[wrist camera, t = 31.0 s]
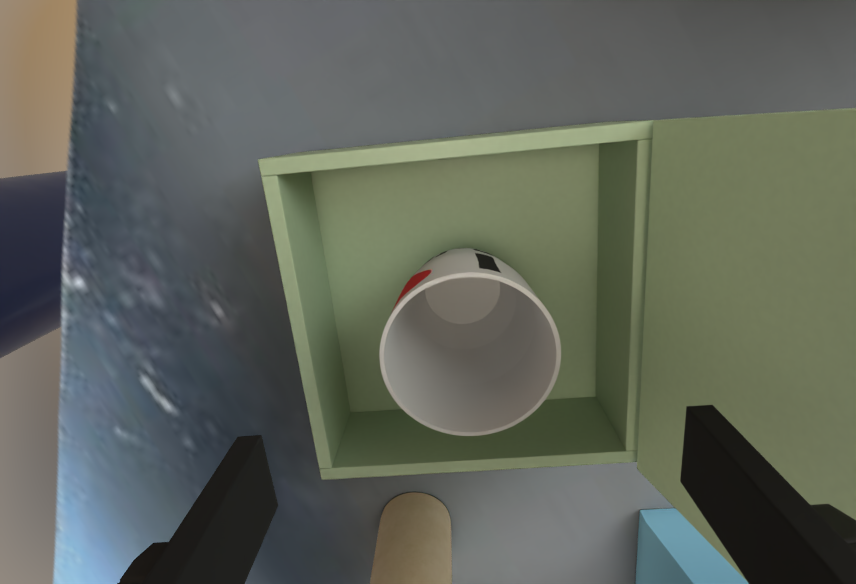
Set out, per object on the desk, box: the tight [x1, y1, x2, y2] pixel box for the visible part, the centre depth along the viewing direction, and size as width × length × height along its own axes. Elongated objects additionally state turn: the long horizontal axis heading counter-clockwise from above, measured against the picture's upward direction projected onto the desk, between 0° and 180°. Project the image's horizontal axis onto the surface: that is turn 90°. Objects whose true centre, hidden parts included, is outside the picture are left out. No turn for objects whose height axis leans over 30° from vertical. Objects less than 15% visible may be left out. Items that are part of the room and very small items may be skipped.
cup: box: [379, 248, 561, 436], centre depth 27 cm, size 8×8×10 cm
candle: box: [370, 492, 452, 584], centre depth 34 cm, size 6×6×10 cm
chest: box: [258, 120, 655, 480], centre depth 29 cm, size 19×19×7 cm
